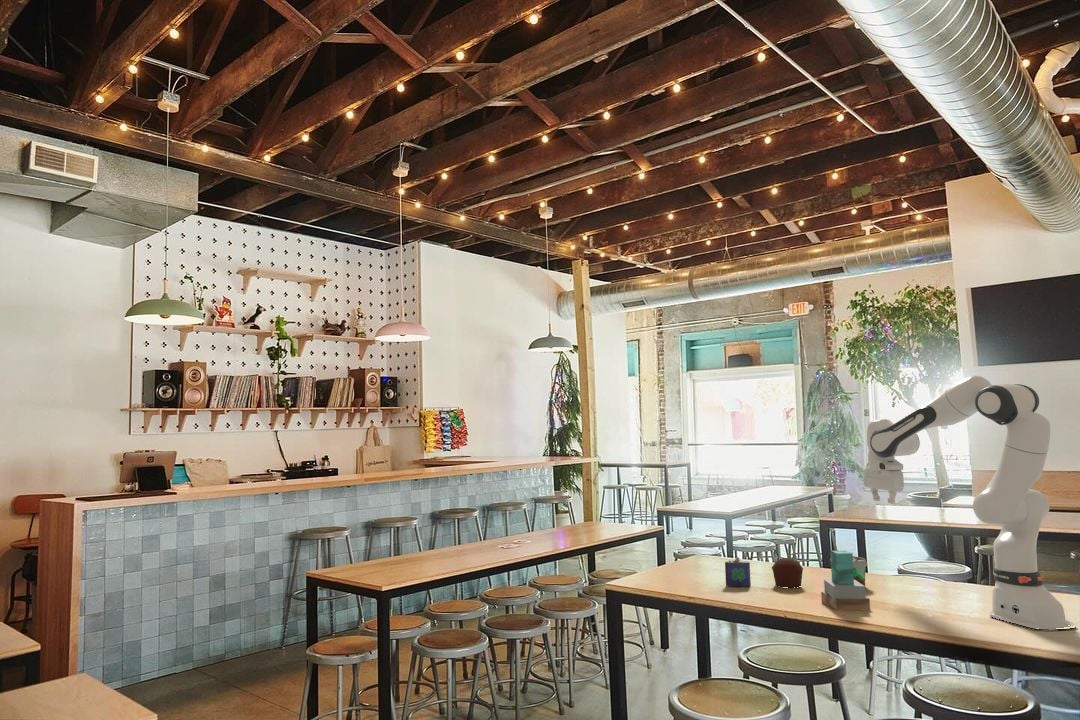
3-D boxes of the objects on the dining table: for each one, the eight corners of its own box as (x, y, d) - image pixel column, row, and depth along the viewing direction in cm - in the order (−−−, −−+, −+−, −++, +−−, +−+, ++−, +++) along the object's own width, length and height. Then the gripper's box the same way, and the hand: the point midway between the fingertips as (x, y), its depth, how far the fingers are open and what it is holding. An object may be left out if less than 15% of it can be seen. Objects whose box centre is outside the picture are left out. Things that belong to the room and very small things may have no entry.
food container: (872, 590, 256) (870, 562, 257) (854, 590, 258) (852, 561, 258) (864, 582, 268) (862, 555, 269) (846, 582, 270) (845, 555, 270)
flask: (749, 585, 268) (748, 556, 269) (751, 587, 265) (750, 557, 266) (725, 585, 268) (723, 556, 269) (726, 587, 266) (725, 558, 266)
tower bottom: (870, 611, 231) (869, 598, 231) (837, 612, 230) (836, 599, 231) (853, 602, 242) (852, 590, 242) (821, 603, 241) (821, 591, 242)
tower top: (865, 598, 231) (865, 586, 231) (833, 598, 232) (833, 586, 232) (855, 591, 241) (854, 579, 241) (824, 591, 242) (823, 579, 242)
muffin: (775, 581, 273) (773, 555, 274) (805, 583, 268) (804, 556, 269) (770, 588, 263) (769, 560, 264) (802, 590, 258) (800, 562, 259)
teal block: (853, 584, 234) (852, 553, 235) (839, 584, 234) (837, 553, 235) (846, 580, 239) (844, 550, 240) (831, 581, 239) (830, 550, 240)
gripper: (858, 462, 272) (860, 499, 270) (889, 465, 251) (891, 505, 250) (874, 462, 272) (876, 498, 271) (906, 465, 252) (908, 504, 251)
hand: (883, 502), depth 260 cm, fingers open, 8 cm apart
